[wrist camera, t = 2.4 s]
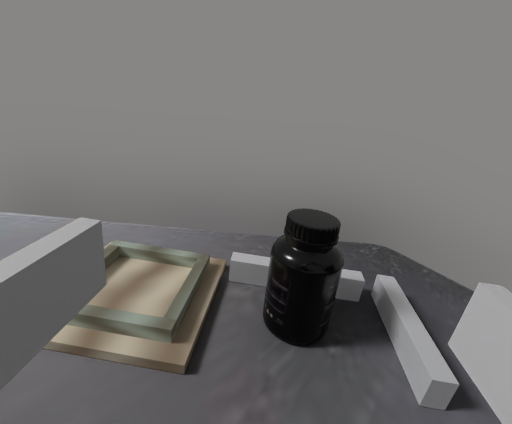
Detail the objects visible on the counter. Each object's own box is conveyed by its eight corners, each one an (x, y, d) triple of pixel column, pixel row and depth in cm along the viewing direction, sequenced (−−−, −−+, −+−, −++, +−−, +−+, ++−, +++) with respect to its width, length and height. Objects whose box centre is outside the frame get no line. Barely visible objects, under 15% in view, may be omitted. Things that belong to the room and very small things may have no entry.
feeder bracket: (386, 296, 35) (393, 277, 34) (444, 410, 22) (459, 384, 21) (231, 271, 36) (233, 251, 35) (199, 365, 23) (201, 339, 22)
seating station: (225, 266, 37) (227, 250, 36) (184, 374, 22) (184, 351, 21) (111, 248, 38) (110, 231, 37) (-1, 340, 23) (-9, 317, 22)
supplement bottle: (302, 294, 33) (323, 202, 29) (339, 338, 28) (372, 231, 23) (251, 306, 31) (264, 205, 26) (280, 356, 25) (304, 239, 20)
